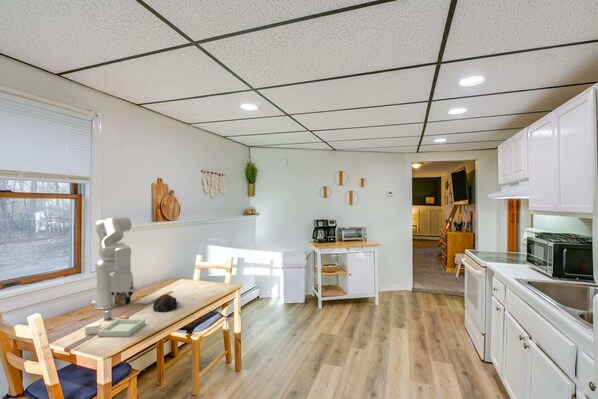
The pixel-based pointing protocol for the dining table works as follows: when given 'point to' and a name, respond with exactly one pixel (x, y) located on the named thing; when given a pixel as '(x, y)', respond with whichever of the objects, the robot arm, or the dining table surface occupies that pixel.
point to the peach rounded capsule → (124, 317)
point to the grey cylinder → (107, 315)
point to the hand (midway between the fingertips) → (122, 303)
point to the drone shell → (165, 303)
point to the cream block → (92, 328)
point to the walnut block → (120, 299)
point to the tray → (121, 327)
